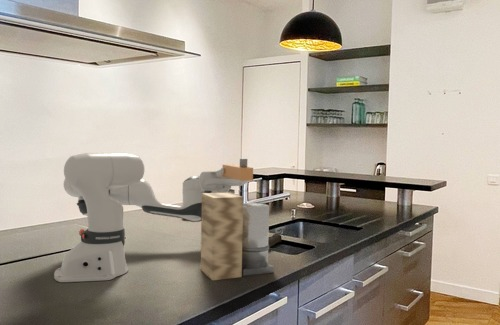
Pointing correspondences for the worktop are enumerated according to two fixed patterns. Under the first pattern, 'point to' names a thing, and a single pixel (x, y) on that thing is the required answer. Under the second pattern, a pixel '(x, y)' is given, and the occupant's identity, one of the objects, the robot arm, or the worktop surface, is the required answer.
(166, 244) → the worktop surface
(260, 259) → the motor housing
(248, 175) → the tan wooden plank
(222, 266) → the zigzag patterned pillar
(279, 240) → the hand tool
